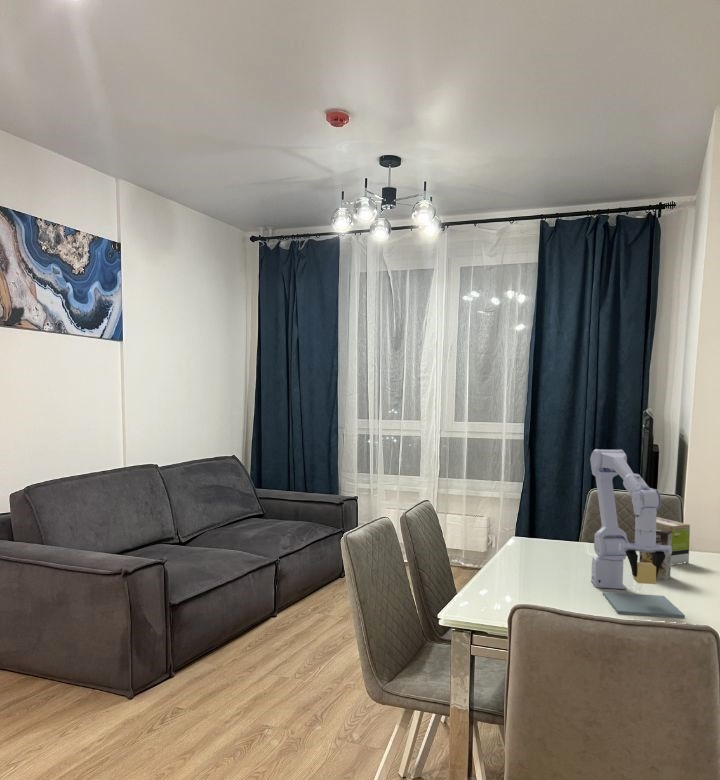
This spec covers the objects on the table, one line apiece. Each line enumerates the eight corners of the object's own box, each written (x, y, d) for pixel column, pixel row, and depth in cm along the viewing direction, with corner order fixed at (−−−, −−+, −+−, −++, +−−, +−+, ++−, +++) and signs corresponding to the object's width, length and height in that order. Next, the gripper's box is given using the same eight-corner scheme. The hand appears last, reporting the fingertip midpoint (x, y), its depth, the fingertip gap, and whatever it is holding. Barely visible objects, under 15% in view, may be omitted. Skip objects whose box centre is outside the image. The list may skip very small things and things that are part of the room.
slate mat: (617, 613, 188) (617, 610, 188) (602, 594, 206) (602, 591, 206) (684, 618, 186) (684, 615, 186) (663, 598, 204) (663, 595, 204)
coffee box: (638, 575, 229) (639, 528, 229) (643, 571, 234) (644, 525, 235) (666, 580, 224) (667, 532, 224) (671, 576, 229) (672, 529, 229)
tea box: (638, 556, 258) (638, 517, 258) (656, 553, 262) (657, 516, 262) (670, 565, 244) (671, 525, 244) (689, 563, 248) (690, 523, 248)
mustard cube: (637, 583, 194) (638, 566, 194) (633, 578, 199) (633, 561, 199) (655, 584, 194) (656, 567, 194) (650, 579, 199) (651, 562, 199)
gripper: (623, 531, 194) (622, 578, 193) (676, 534, 192) (674, 581, 192) (617, 527, 201) (616, 572, 200) (667, 529, 199) (666, 574, 199)
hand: (644, 576), depth 197 cm, fingers closed on mustard cube, 5 cm apart
